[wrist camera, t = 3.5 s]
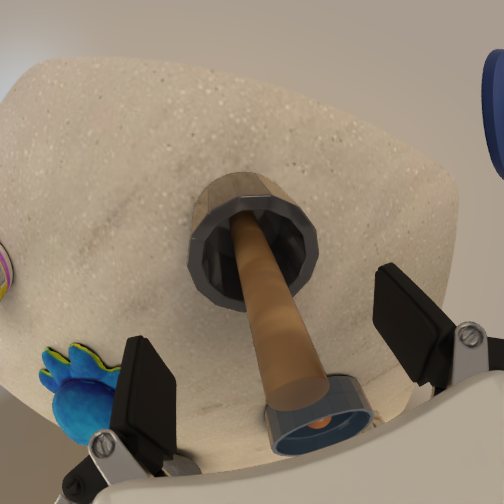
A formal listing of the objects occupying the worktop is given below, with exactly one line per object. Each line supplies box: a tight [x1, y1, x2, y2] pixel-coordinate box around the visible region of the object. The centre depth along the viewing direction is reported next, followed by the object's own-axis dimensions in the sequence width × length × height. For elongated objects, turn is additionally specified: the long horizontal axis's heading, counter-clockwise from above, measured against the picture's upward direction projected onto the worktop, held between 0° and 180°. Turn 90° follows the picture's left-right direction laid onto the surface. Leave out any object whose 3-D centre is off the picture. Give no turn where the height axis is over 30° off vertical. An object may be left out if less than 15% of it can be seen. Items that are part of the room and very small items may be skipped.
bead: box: [307, 416, 332, 429], centre depth 32 cm, size 4×4×4 cm
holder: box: [187, 172, 319, 312], centre depth 17 cm, size 7×7×6 cm
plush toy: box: [39, 343, 121, 446], centre depth 24 cm, size 17×17×8 cm
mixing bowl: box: [264, 376, 375, 456], centre depth 32 cm, size 14×14×6 cm
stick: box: [229, 210, 330, 411], centre depth 14 cm, size 2×2×14 cm
